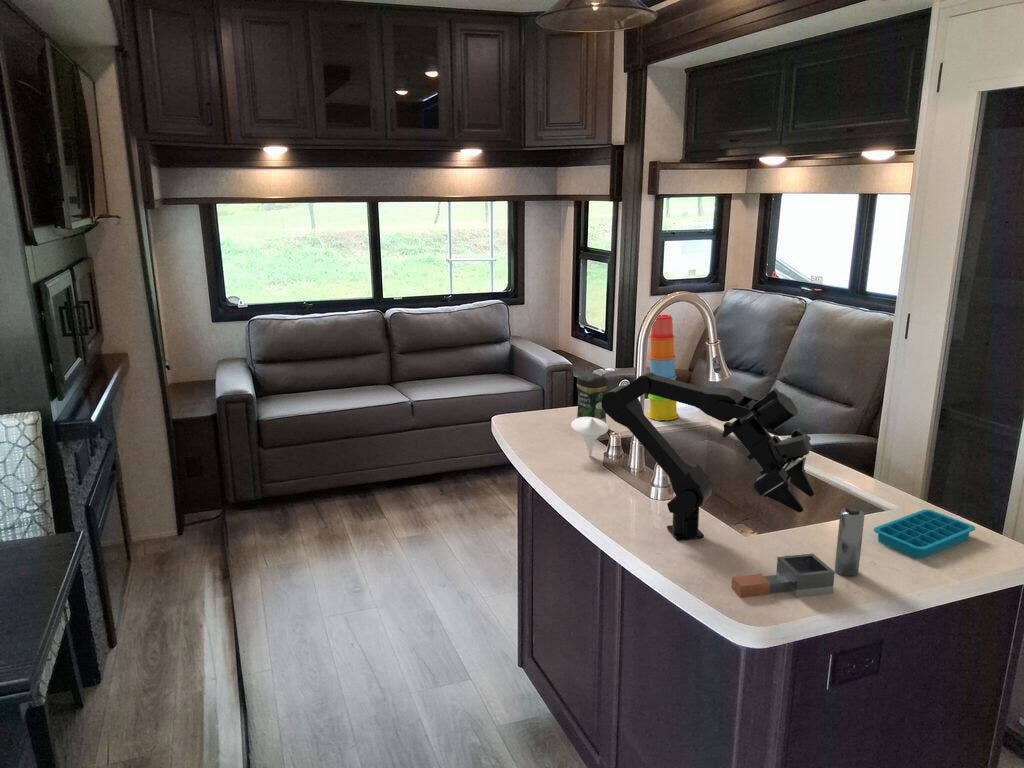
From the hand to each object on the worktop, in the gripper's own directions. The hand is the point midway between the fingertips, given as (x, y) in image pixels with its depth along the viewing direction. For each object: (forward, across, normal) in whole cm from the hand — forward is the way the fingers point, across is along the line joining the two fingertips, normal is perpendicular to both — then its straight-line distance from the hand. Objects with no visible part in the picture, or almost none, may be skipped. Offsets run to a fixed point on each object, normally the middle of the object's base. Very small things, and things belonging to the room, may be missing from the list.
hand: (807, 503), depth 152 cm
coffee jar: (-44, +55, +66) cm, 97 cm away
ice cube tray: (+24, +24, -5) cm, 34 cm away
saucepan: (+9, -13, +10) cm, 19 cm away
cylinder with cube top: (+15, 0, +3) cm, 16 cm away
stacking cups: (-34, +79, +56) cm, 102 cm away
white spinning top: (-37, +33, +58) cm, 76 cm away
